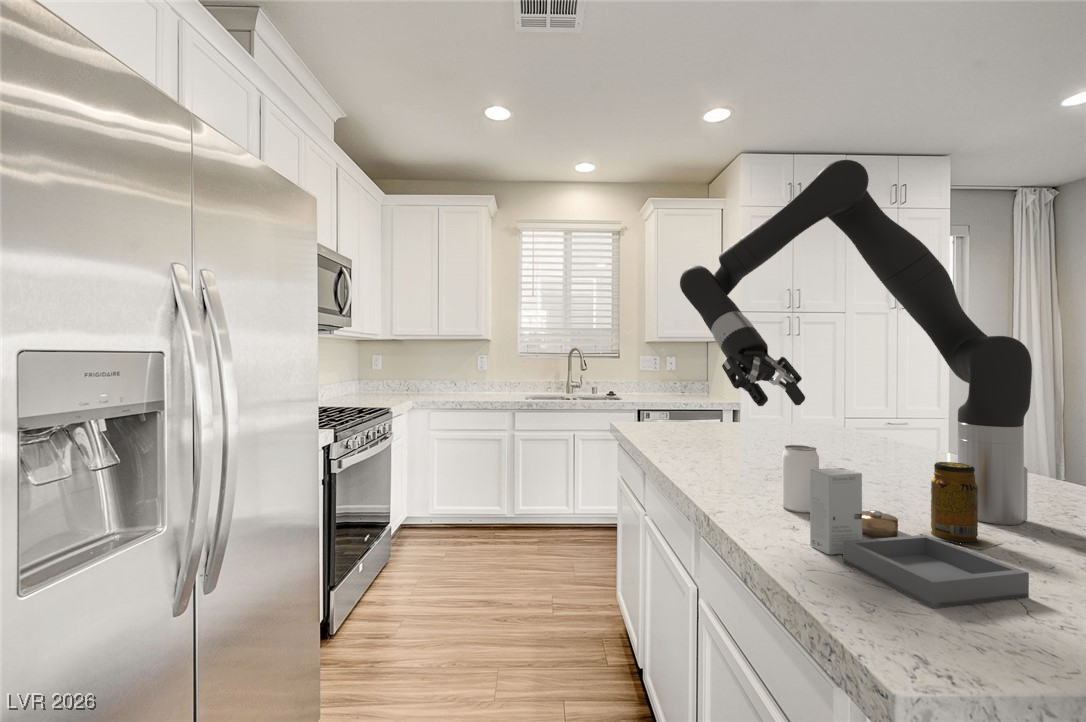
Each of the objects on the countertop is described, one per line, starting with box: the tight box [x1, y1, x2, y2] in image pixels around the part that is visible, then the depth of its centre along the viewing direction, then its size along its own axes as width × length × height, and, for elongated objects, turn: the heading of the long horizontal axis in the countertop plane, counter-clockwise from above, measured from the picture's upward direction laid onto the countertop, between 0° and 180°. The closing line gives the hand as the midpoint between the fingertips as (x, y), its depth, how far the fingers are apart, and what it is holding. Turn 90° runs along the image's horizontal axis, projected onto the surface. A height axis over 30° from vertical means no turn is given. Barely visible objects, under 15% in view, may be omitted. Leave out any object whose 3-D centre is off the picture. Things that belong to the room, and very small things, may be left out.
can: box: [781, 444, 820, 514], centre depth 102 cm, size 6×6×12 cm
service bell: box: [862, 509, 912, 540], centre depth 86 cm, size 8×8×4 cm
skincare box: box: [809, 467, 863, 556], centre depth 81 cm, size 6×4×12 cm
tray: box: [842, 534, 1030, 609], centre depth 70 cm, size 14×14×3 cm
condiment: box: [918, 461, 1003, 550], centre depth 85 cm, size 7×8×12 cm
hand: (782, 402), depth 93 cm, fingers open, 8 cm apart
